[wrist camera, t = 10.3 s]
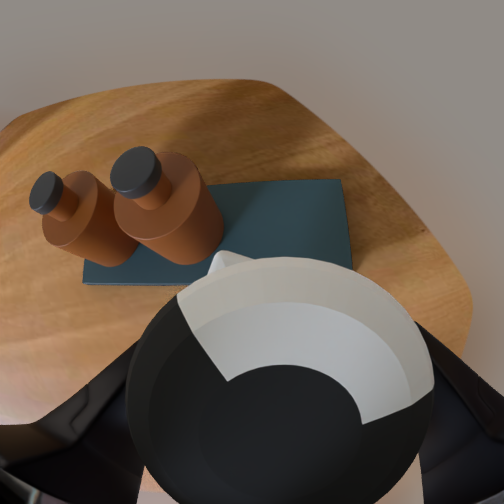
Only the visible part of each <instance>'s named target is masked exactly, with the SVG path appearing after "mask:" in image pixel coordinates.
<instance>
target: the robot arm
mask: <svg viewBox="0 0 504 504" xmlns="http://www.w3.org/2000/svg"><path fill="white" fill-rule="evenodd" d="M414 322H415V321H414ZM415 324H416V325H417V327H418V329H419V331H420V333H421V335H422V337H423V339H424V341H425V343H426V345H427V349H428V352H429V355H430V359H431V362H432V368H433V375H434V405H433V411H432V416H431V421H430V424H429V427H428V430H427V433H426V436H425V439H424V441H423V443H422V445H421V447H420V449H419V451H418V453H419V459H420V467H421V474H422V486H423V497H424V504H504V397H503V396H502V395H501V394H499V393H498V392H497V391H496V390H495V389H493V388H492V387H491V386H490V385H489V384H488V383H487V382H485V381H484V380H483V379H482V378H481V377H480V376H478V374H477V373H475V372H474V371H473V370H472V369H471V368H470V367H468V365H466V364H465V363H464V362H463V361H462V360H461V359H460V358H458V357H457V356H456V355H455V354H454V353H453V352H452V351H450V350H449V349H448V348H447V347H446V346H445V345H443V344H442V343H441V342H440V341H439V340H437V339H436V338H435V337H434V336H433V335H432V334H430V333H429V332H428V331H427V330H425V329H424V328H423V327H422V326H421V325H419V324H418V323H417V322H415ZM139 340H140V339H139ZM139 340H138V341H136V342H135V343H134V344H133V345H132V346H131V347H129V348H128V349H127V350H126V351H125V352H124V353H122V354H121V355H120V356H119V357H118V358H117V359H115V360H114V361H113V362H112V363H111V364H110V365H108V366H107V367H106V368H105V369H104V370H103V371H101V372H100V373H99V374H98V375H97V376H96V377H94V378H93V379H92V380H91V381H90V382H89V383H88V384H86V385H85V386H84V387H83V388H82V389H80V390H79V391H78V392H77V393H76V394H74V395H73V396H72V397H71V398H69V399H68V400H67V401H65V402H64V403H63V404H61V405H60V406H58V407H57V408H55V409H54V410H53V411H51V412H50V413H48V414H47V415H45V416H44V417H43V418H41V419H39V420H38V421H36V422H33V423H30V424H20V425H0V504H136V503H137V498H138V493H139V489H140V485H141V480H142V479H141V478H142V475H143V471H144V466H145V465H144V463H143V461H142V459H141V458H140V456H139V454H138V451H137V449H136V447H135V444H134V442H133V439H132V437H131V433H130V429H129V425H128V421H127V415H126V404H125V392H126V379H127V375H128V370H129V366H130V361H131V359H132V356H133V354H134V351H135V348H136V346H137V343H138V342H139Z"/></svg>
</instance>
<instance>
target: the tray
mask: <svg viewBox="0 0 504 504" xmlns="http://www.w3.org/2000/svg"><path fill="white" fill-rule="evenodd" d="M207 188H208V190H209V192H210V194H211V195H212V197H213V199H214V201H215V203H216V205H217V207H218V209H219V210H220V212H221V215H222V217H223V222H224V231H223V236H222V239H221V241H220V243H219V245H218V247H217V248H216V250H215V251H214V252H213V253H212V254H211V255H210V256H209V257H207V258H206V259H204V260H203V261H201V262H198V263H195V264H191V265H181V264H177V263H174V262H172V261H170V260H168V259H166V258H165V257H163V256H161V255H160V254H158V253H156V252H155V251H153V250H151V249H150V248H148V247H147V246H145V245H143V244H142V243H140V242H139V243H138V246H137V248H136V250H135V251H134V253H133V254H132V255H131V257H130V258H129V259H128V260H126V261H125V262H124V263H122V264H120V265H118V266H115V267H106V266H103V265H100V264H97V263H95V262H92V261H90V260H87V259H85V260H84V270H83V281H82V283H83V284H87V285H140V286H169V285H191V284H192V283H193V282H195V281H197V280H199V279H201V278H203V277H205V276H207V274H208V271H209V269H210V266H211V263H212V261H213V258H214V256H215V255H216V253H217V252H219V251H221V250H224V251H230V252H233V253H236V254H239V255H242V256H245V257H249V258H252V259H255V260H256V259H261V258H274V257H296V258H309V259H314V260H319V261H324V262H329V263H333V264H336V265H338V266H341V267H344V268H347V269H350V270H352V271H353V267H352V257H351V247H350V239H349V230H348V223H347V216H346V209H345V202H344V196H343V189H342V184H341V179H314V180H282V181H262V182H246V183H232V184H219V185H208V186H207Z"/></svg>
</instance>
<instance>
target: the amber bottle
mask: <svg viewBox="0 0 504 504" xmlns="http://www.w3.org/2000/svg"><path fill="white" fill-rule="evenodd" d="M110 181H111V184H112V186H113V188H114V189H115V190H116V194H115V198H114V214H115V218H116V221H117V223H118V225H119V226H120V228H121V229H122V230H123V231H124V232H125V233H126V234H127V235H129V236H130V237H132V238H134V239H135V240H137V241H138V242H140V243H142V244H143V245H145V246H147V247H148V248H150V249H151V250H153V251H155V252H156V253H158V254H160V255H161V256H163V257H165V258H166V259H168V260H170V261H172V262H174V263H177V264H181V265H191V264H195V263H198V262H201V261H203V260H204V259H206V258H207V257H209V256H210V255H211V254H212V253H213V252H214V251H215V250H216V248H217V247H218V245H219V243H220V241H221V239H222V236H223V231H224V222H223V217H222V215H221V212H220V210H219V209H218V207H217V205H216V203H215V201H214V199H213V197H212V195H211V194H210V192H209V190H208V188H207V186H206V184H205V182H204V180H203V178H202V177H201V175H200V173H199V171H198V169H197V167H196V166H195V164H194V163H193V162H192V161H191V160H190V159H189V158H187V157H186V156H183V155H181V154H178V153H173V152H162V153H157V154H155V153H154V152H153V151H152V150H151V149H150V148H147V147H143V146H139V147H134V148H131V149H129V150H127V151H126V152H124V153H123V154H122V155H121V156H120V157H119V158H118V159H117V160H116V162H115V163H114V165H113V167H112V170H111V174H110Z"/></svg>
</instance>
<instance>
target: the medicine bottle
mask: <svg viewBox="0 0 504 504" xmlns="http://www.w3.org/2000/svg"><path fill="white" fill-rule="evenodd" d="M125 404H126V415H127V421H128V425H129V429H130V433H131V437H132V439H133V442H134V444H135V447H136V449H137V451H138V454H139V456H140V458H141V459H142V461H143V463H144V465H145V466H146V468H147V470H148V471H149V473H150V474H151V475H152V477H153V478H154V479H155V480H156V482H157V483H158V484H159V485H160V487H161V488H162V489H163V490H164V491H165V492H166V493H167V494H169V495H170V496H171V497H172V498H173V499H174V500H175V501H176V502H178V503H179V504H374V503H375V502H377V501H378V500H379V499H380V498H382V497H383V496H384V495H385V494H386V493H388V492H389V491H390V490H391V489H392V488H393V486H394V485H395V484H396V483H397V482H398V481H399V480H400V479H401V477H402V476H403V475H404V474H405V472H406V471H407V470H408V468H409V467H410V465H411V464H412V462H413V461H414V459H415V457H416V455H417V453H418V451H419V449H420V447H421V445H422V443H423V441H424V439H425V436H426V433H427V430H428V427H429V424H430V421H431V416H432V411H433V405H434V375H433V368H432V362H431V359H430V355H429V352H428V349H427V345H426V343H425V341H424V339H423V337H422V335H421V333H420V331H419V329H418V327H417V325H416V324H415V322H414V321H413V319H412V318H411V317H410V315H409V314H408V312H407V311H406V310H405V309H404V308H403V307H402V305H401V304H400V303H399V302H398V301H397V300H396V299H395V298H394V297H393V296H392V295H391V294H389V293H388V292H387V291H385V290H384V289H383V288H381V287H380V286H379V285H377V284H376V283H375V282H373V281H371V280H370V279H368V278H366V277H364V276H362V275H360V274H358V273H356V272H355V271H352V270H350V269H347V268H344V267H341V266H338V265H336V264H333V263H329V262H324V261H319V260H314V259H309V258H296V257H274V258H261V259H256V260H255V259H252V258H249V257H245V256H242V255H239V254H236V253H233V252H230V251H224V250H221V251H219V252H217V253H216V255H215V256H214V258H213V261H212V263H211V266H210V269H209V271H208V274H207V276H205V277H203V278H201V279H199V280H197V281H195V282H193V283H192V284H191V285H189V286H188V287H186V288H185V289H183V290H182V291H181V292H179V293H178V294H176V295H175V296H174V297H173V298H172V299H171V300H170V301H169V302H168V303H167V304H166V305H165V306H164V307H162V308H161V309H160V311H159V312H158V313H157V314H156V316H155V317H154V318H153V319H152V321H151V322H150V323H149V325H148V326H147V328H146V329H145V331H144V333H143V335H142V336H141V338H140V340H139V342H138V343H137V346H136V348H135V351H134V354H133V356H132V359H131V361H130V366H129V370H128V375H127V379H126V392H125Z"/></svg>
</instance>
